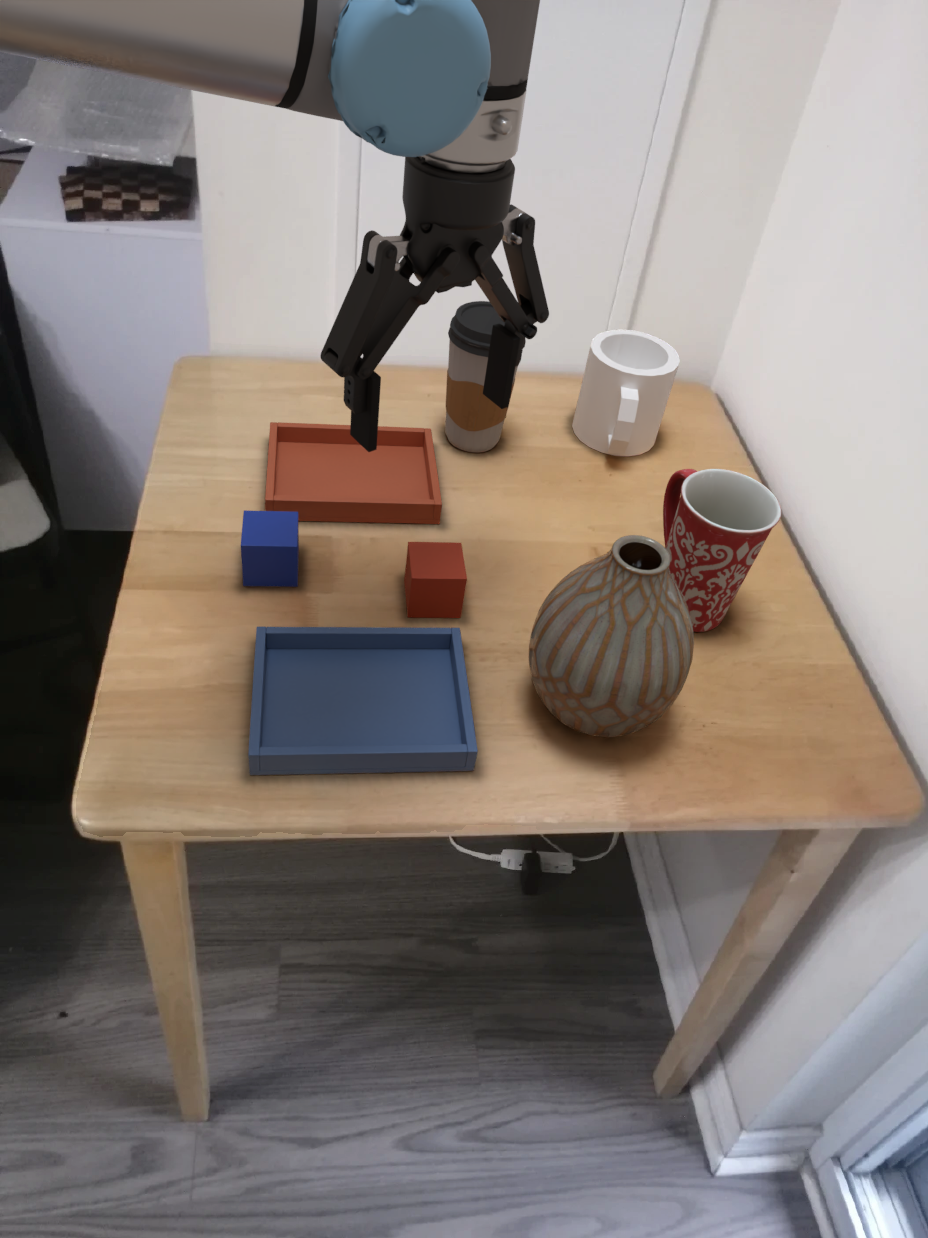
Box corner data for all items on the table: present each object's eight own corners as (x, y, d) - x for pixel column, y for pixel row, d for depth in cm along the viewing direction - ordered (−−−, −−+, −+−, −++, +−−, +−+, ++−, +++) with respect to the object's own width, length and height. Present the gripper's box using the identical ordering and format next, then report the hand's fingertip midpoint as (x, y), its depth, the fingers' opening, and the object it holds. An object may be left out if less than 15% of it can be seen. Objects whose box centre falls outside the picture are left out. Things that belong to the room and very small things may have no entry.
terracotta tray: (265, 520, 94) (265, 499, 92) (270, 441, 103) (270, 421, 102) (439, 524, 97) (442, 504, 95) (429, 447, 106) (431, 428, 104)
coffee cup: (514, 428, 111) (536, 309, 101) (497, 466, 105) (519, 344, 95) (447, 410, 112) (462, 291, 102) (427, 447, 106) (440, 325, 96)
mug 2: (750, 633, 91) (801, 525, 81) (667, 646, 88) (711, 536, 79) (690, 548, 99) (731, 441, 89) (613, 558, 96) (646, 449, 87)
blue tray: (249, 775, 72) (248, 755, 71) (257, 647, 82) (256, 626, 80) (473, 771, 75) (478, 751, 73) (456, 647, 85) (459, 627, 83)
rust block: (407, 617, 87) (411, 578, 83) (404, 580, 90) (407, 541, 87) (460, 618, 87) (467, 578, 84) (455, 581, 91) (461, 542, 87)
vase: (662, 661, 87) (720, 513, 74) (669, 776, 77) (737, 629, 65) (522, 639, 86) (557, 486, 74) (512, 752, 77) (550, 599, 65)
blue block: (243, 586, 87) (240, 545, 84) (246, 550, 90) (243, 510, 87) (297, 586, 88) (297, 546, 84) (298, 551, 91) (298, 511, 88)
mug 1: (659, 478, 107) (686, 398, 100) (571, 465, 107) (591, 383, 100) (652, 414, 117) (676, 336, 109) (572, 402, 117) (590, 323, 109)
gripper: (331, 198, 55) (326, 488, 70) (630, 150, 67) (571, 405, 82) (268, 153, 59) (276, 436, 74) (561, 115, 71) (518, 365, 86)
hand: (432, 420), depth 78 cm, fingers open, 13 cm apart
